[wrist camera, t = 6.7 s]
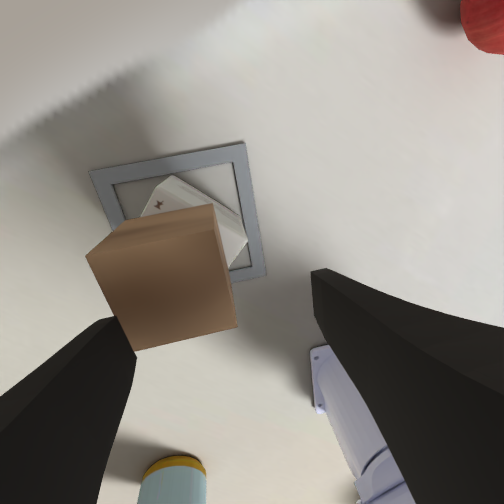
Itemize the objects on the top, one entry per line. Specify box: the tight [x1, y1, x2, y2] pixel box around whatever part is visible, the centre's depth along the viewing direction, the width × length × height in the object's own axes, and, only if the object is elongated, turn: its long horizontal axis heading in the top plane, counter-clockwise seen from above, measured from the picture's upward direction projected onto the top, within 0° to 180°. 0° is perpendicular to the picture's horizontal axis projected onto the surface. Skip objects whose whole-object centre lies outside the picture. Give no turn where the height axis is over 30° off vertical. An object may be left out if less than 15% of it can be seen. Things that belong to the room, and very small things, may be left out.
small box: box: [140, 175, 248, 267], centre depth 16 cm, size 6×6×5 cm
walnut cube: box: [85, 203, 238, 352], centre depth 12 cm, size 4×4×4 cm
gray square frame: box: [88, 143, 266, 283], centre depth 18 cm, size 10×10×1 cm
